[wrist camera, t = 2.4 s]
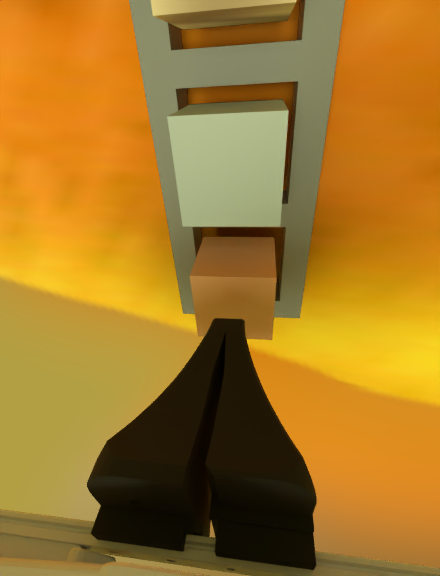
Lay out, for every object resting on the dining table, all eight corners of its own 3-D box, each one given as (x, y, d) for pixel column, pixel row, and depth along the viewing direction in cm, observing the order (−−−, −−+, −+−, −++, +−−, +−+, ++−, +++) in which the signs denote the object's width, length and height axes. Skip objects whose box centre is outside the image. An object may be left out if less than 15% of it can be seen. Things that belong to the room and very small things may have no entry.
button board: (365, -241, 9) (390, -316, 7) (296, 297, 21) (299, 318, 20) (117, -193, 10) (86, -248, 8) (189, 294, 23) (183, 313, 21)
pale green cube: (282, 99, 13) (288, 110, 9) (276, 192, 15) (280, 226, 12) (190, 104, 13) (167, 116, 10) (199, 193, 15) (182, 226, 12)
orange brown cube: (274, 237, 16) (276, 278, 13) (270, 293, 19) (272, 339, 16) (203, 236, 17) (189, 276, 14) (209, 291, 19) (198, 336, 16)
